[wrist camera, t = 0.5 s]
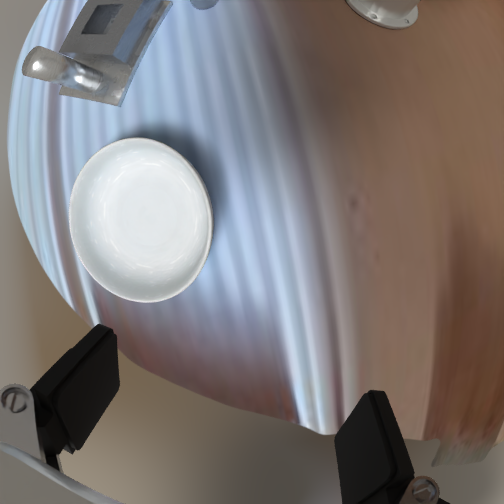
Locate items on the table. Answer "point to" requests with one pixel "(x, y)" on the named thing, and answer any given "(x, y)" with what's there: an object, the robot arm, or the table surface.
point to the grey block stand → (100, 49)
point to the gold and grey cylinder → (203, 4)
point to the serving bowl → (141, 220)
